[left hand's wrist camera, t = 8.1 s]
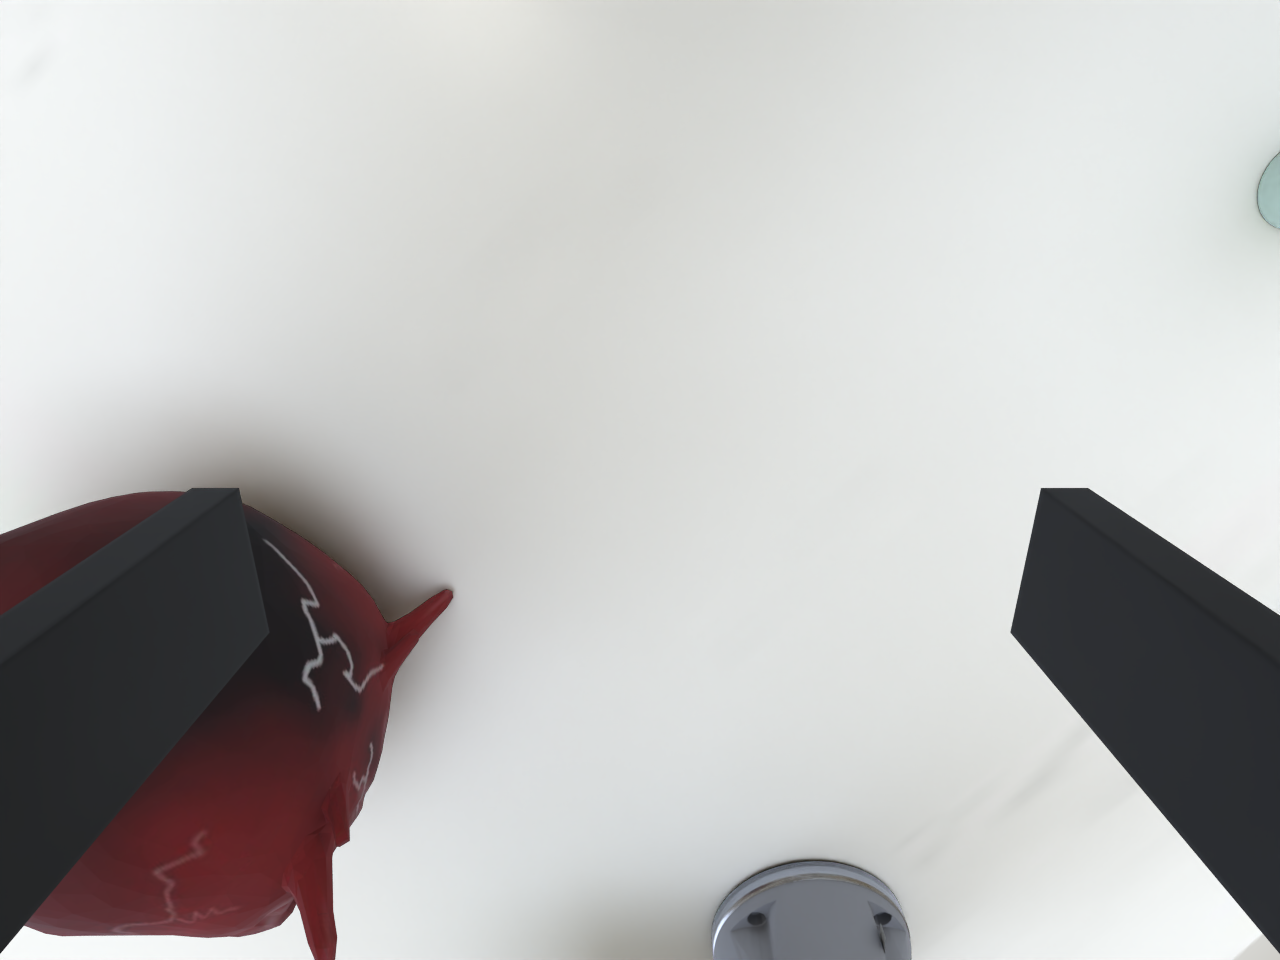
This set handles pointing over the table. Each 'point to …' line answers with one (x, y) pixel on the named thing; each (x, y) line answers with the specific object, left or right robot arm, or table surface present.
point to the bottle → (1270, 193)
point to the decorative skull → (237, 748)
